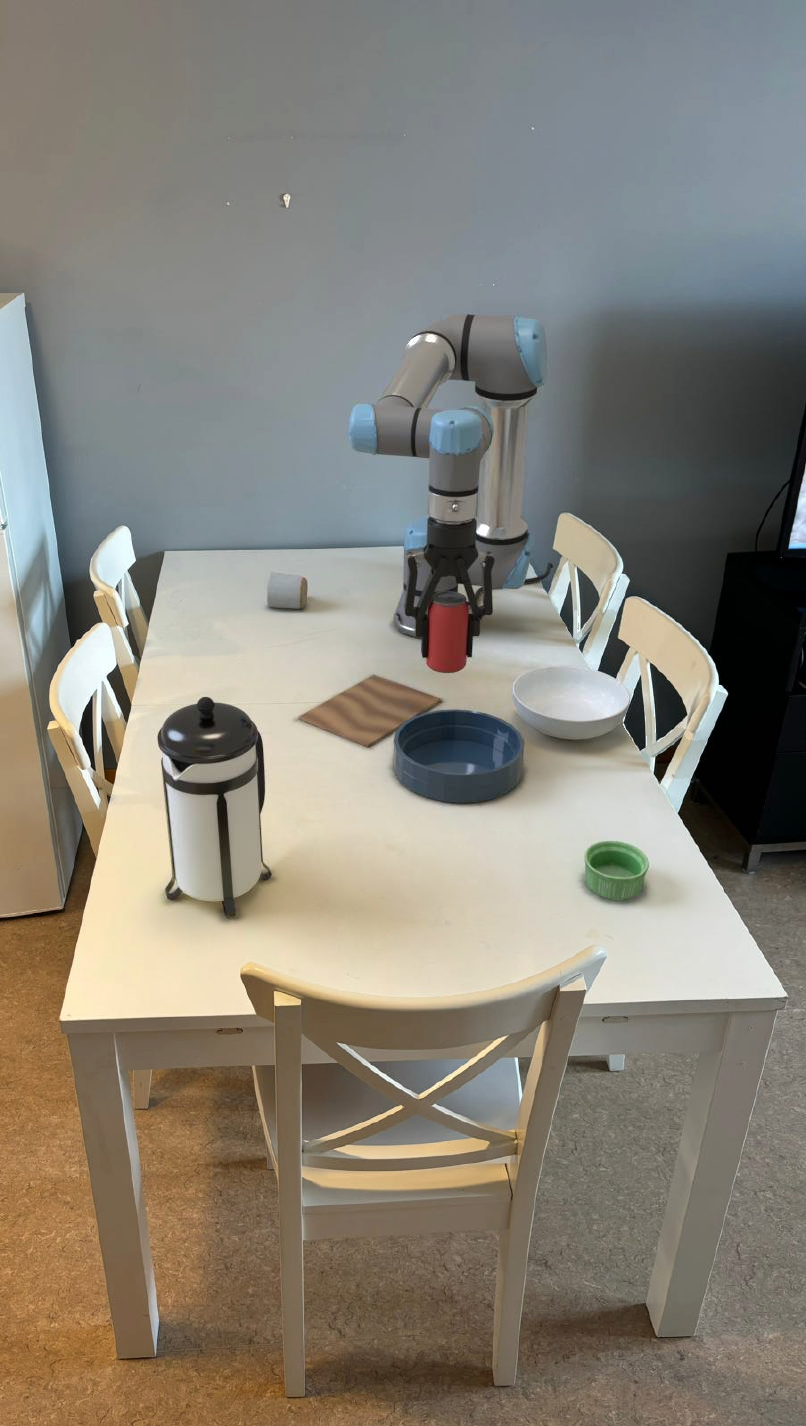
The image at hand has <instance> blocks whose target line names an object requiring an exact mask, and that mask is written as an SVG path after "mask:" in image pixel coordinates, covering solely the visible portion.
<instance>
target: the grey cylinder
mask: <svg viewBox="0 0 806 1426" xmlns="http://www.w3.org/2000/svg"><path fill="white" fill-rule="evenodd" d="M266 590H267V591H266V602H267V603H266V604H267V606H268V608H275V609H276V608H277V609H292V610H293V609H295V610H297V609H303V608H304V607H305V606H306V603H307V600H308V599H307V598H308V580H307V578H306V577H304V576H301V575H296V574H287V573H280V572H271V573H270V574H269V576H268V580H267V588H266Z"/></svg>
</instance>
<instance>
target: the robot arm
mask: <svg viewBox="0 0 806 1426" xmlns="http://www.w3.org/2000/svg"><path fill="white" fill-rule="evenodd" d="M547 345H548V344H547V336H546V332H545V328H544V325H543V324H542V322H541V321H540V320H539V319H536V318H528V317H521V316H519V315H516V316H515V315H492V314H491V315H490V314H489V315H488V314H487V315H486V314H470V313H457V314H451V315H447V316H444V317H442V318H439V319H437V320H434V321H432V322H431V323H429V324H427V325H425V326H423V327H422V328H421V329H419V330H418V331H416V332H415V334H414V335H412V337H411V338H410V339H409V340H408V342H407V344H406V345H405V347H404V350H403V352H402V362H401V364H400V365H399V367H398V368H397V370H396V372H395V373H394V375H393V377H392V378H391V380H390V381H389V383H388V385H387V386H386V387H385V389H384V390H383V392H382V394H381V395H380V397H379V398H378V400H377V402H376V403H372V402H368V403H357V404H356V405H354V406H353V408H352V410H351V413H350V416H349V422H348V423H349V424H348V436H349V437H348V438H349V443H350V446H351V448H352V449H353V450H354V451H355V452H357V453H358V452H359V453H363V454H364V453H365V454H372V455H373V456H376V455H382V456H393V457H394V456H395V457H407V458H408V457H410V458H420V459H428V460H429V464H428V466H429V467H428V491H427V515H428V516H426V517H422V518H419V519H417V520H414V521H412V522H411V523H409V524H408V525H407V526H406V528H405V531H404V541H403V544H402V548H403V576H402V577H403V581H402V582H403V583H402V584H403V585H402V592H401V595H400V598H399V600H398V603H397V606H396V608H395V610H394V611H395V612H394V614H393V627H394V628H395V629H396V630H397V631H398V632H400V633H401V634H403V635H406V636H409V637H412V638H416V639H421V643H420V646H421V647H420V653H421V658H422V659H426V658H427V646H428V607H429V604H430V602H431V599H432V596H433V594H435V593H437V592H442V591H453V592H458V593H459V585H463V587H464V591H465V593H466V598H467V600H468V601H466V602H467V604H468V607H470V610H471V613H470V612H469V622H468V641H467V658H473V645H474V637H477V638H478V637H479V636H480V634H481V622H482V619H483V617H485V616H489V617H490V616H492V615H493V613H494V605H493V589H499V590H519V589H521V588H522V587H523V586H524V585H525V584H528V583H534V582H539V581H541V580H543V579H546V578H547V577H548V576H549V575H550V573H551V569H552V568H554V566H553V565H554V564H553V563H552V562H548V563H547V567H546V570H545V573H543V574H541V575H539V576H535V577H531V578H527V575H528V570H529V567H530V564H531V558H532V554H533V549H534V546H535V539H536V536H535V534H534V533H531V532H529V525H528V522H527V520H525V519H524V518H523V517H522V511H523V510H522V509H523V508H522V507H523V495H524V494H523V491H524V475H525V461H526V459H525V458H526V443H527V429H528V428H527V426H528V411H529V403H530V401H532V400H533V399H534V398H535V397H536V396H537V394H538V388H541V387H542V386H544V385H545V384H546V380H547V373H548V367H547V366H548V347H547ZM450 380H451V381H464V382H472V383H473V382H474V394H475V395H476V396H477V397H478V398H479V399H480V400H481V401H482V407H479V406H475V405H466V406H463V407H459V408H458V409H439V408H428V406H429V404H430V403H431V402H432V400H433V397H434V396H435V394H436V392H437V390H438V388H439V387H440V385H443V384H445V383H446V382H447V381H450ZM473 586H474V587H479V588H477V590H476V592H475V591H474V587H473ZM481 593H482V605H479V603H478V600H479V597H480V594H481Z"/></svg>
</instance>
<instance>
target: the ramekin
mask: <svg viewBox="0 0 806 1426" xmlns="http://www.w3.org/2000/svg"><path fill="white" fill-rule="evenodd" d="M584 864H585V865H584V882H585V885H586V886H587V888H588V889H589V890H590V891H591V892H592V893H594V894H595V895H597V896H599V897H600V898H603V899H606V900H612V901H624V900H629V899H631V898H635V896H637V895H638V894H640V892H641V890H642V887H643V884H644V880H645V876H646V874H647V872H648V870H649V866H650V862H649V859H648V856H647V855H646V853H645V852H644V851H642V850H641V849H640V848H639V847H637V846H635V845H632V844H630V843H627V842H623V841H618V840H604V841H603V840H601V841H598V842H595V843H592V844H591V845H590V846H589V847H588V848H587V849H586V850H585V852H584Z"/></svg>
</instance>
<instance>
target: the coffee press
mask: <svg viewBox="0 0 806 1426" xmlns="http://www.w3.org/2000/svg"><path fill="white" fill-rule="evenodd" d="M156 740H157V746H158V748H159V750H160V751H161V756H162V757H161V759H160V764H161V775H162V787H163V796H164V807H165V817H166V826H167V837H168V845H169V855H170V856H169V857H170V866H171V867H170V868H171V878H170V881H169V882H168V884H167V885H166V887H165V889H164V892H165V896H166V898H167V900H171V901H173V900H176V899H177V898H178V897H179V896H180V894H181V893H184V894H185V895H187V896H189V897H191V898H192V899H195V900H199V901H203V902H204V901H205V902H221V903H222V907H223V913H224V916H225V918H226V919H227V918H232V917H237V909H236V906H235V905H236V904H235V899H236V898H239V897H240V896H243V895H245V894H246V893H247V892H249V891H250V890H251V889H253V887H255V886H256V884H257V883H258V881H259V880H260V879H262V880H264V881H267V880H269V879H271V878H272V875H273V873H272V871H271V869H270V867H269V865H267V864H266V863H265V862H264V857H263V839H262V819H261V818H262V817H261V813H262V811H263V809H264V804H265V799H266V772H265V771H266V770H265V753H264V743H263V738H262V735H261V733H260V731H259V729H258V727H257V725H256V723H255V722H254V721H253V720H252V718H251V717H250V716H249V715H248V713H246V712H245V711H244V710H242V709H241V708H239V707H237V706H234V705H232V704H229V703H223V702H217V701H216V702H215V701H214V700H213V699H212V698H211V697H209V696H202V697H200V698H199V699H198V701H197V703H193V704H189V705H186V706H183V707H181V708H179V709H177V710H176V711H174V712H172V713H171V714H170V715H169V716H168V717H167V718H166V719H165V721H164V722H163V724H162V727H160V729H159V730H158V732H157V738H156ZM262 866H263V868H264V869H265V870H266V871H267V872H265V873H262ZM175 884H176V885H177V888H176V889H175V890H174V891H172V889H173V887H174V885H175ZM171 891H172V892H171Z"/></svg>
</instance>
